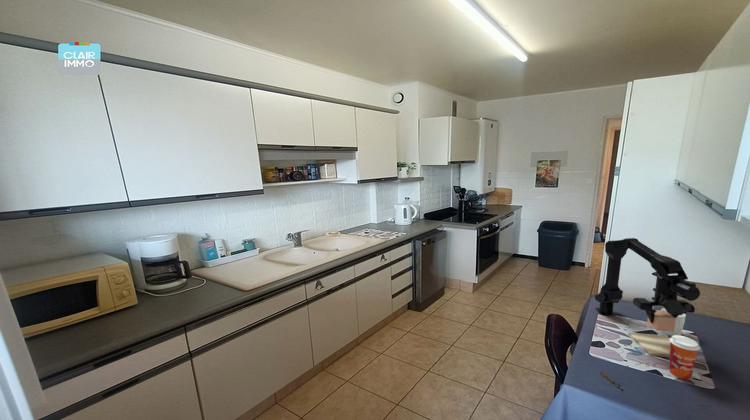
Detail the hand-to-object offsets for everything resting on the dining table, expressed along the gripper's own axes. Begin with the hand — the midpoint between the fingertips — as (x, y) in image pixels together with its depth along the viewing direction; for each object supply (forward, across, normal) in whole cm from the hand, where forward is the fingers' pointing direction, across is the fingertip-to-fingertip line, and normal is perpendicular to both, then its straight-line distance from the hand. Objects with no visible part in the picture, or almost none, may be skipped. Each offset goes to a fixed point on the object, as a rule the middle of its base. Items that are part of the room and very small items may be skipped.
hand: (660, 323), depth 124 cm
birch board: (+11, 0, 0) cm, 11 cm away
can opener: (+11, -29, -25) cm, 40 cm away
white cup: (+11, +12, +12) cm, 20 cm away
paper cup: (+11, -3, -17) cm, 20 cm away
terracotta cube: (+2, 0, 0) cm, 2 cm away
